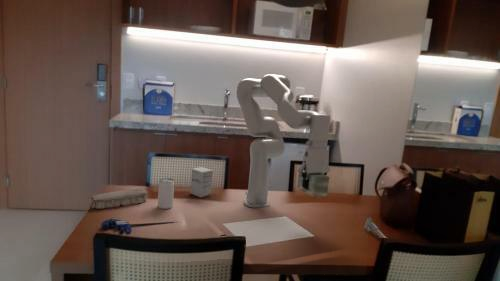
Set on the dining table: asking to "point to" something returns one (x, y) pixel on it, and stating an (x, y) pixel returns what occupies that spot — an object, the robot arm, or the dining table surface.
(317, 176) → the block
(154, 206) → the dining table surface
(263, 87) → the robot arm
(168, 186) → the can
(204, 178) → the supplement box
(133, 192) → the shoe brush
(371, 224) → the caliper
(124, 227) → the bar clamp
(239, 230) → the board
